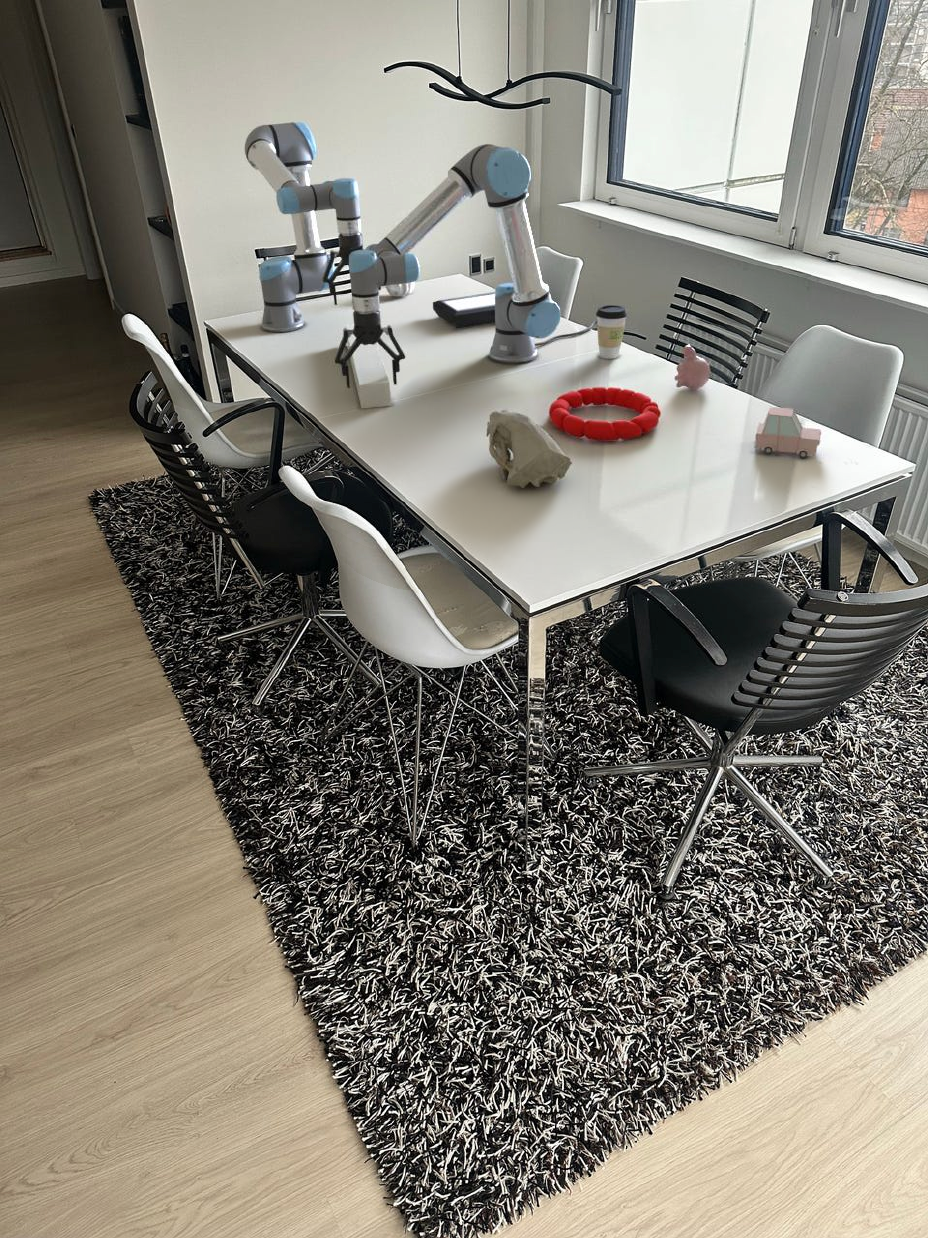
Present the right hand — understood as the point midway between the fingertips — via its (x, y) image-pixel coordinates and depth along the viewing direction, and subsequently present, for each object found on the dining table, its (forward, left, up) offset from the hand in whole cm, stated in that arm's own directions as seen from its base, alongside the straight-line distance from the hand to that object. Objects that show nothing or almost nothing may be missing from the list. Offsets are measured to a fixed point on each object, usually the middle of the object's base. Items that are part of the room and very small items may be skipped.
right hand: (371, 384), depth 260 cm
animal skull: (+1, +65, -5) cm, 65 cm away
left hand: (-25, -42, +11) cm, 50 cm away
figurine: (-73, +59, -5) cm, 94 cm away
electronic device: (-78, -40, -5) cm, 88 cm away
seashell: (-75, -85, -5) cm, 113 cm away
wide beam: (-12, -21, -5) cm, 25 cm away
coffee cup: (-78, +22, -5) cm, 81 cm away
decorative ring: (-36, +58, -5) cm, 69 cm away
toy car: (-55, +103, -5) cm, 117 cm away
